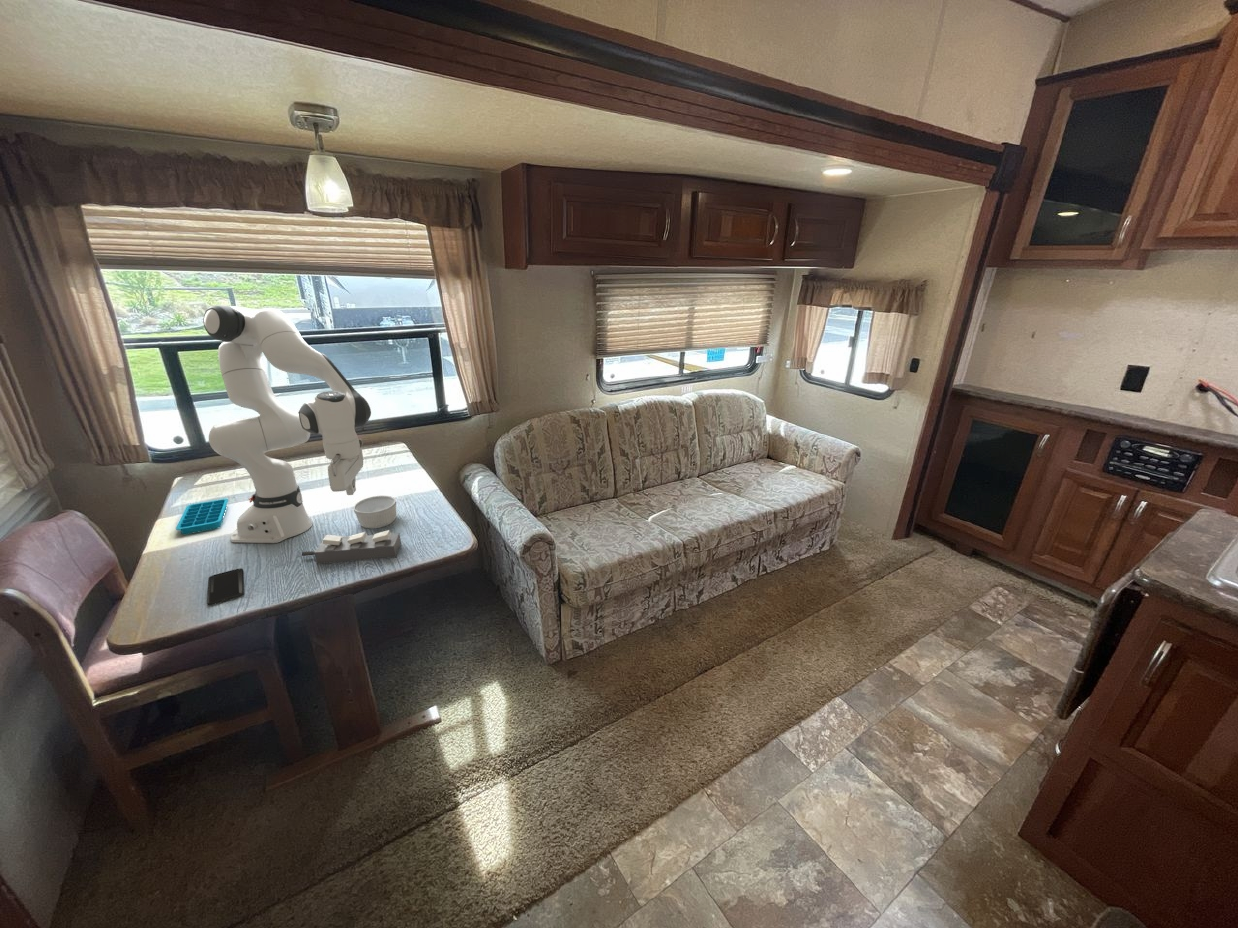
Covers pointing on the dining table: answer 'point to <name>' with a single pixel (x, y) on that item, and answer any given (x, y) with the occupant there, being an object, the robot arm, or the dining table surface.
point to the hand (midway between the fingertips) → (351, 493)
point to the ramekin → (375, 511)
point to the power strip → (357, 550)
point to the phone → (225, 586)
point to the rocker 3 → (381, 536)
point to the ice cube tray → (202, 516)
